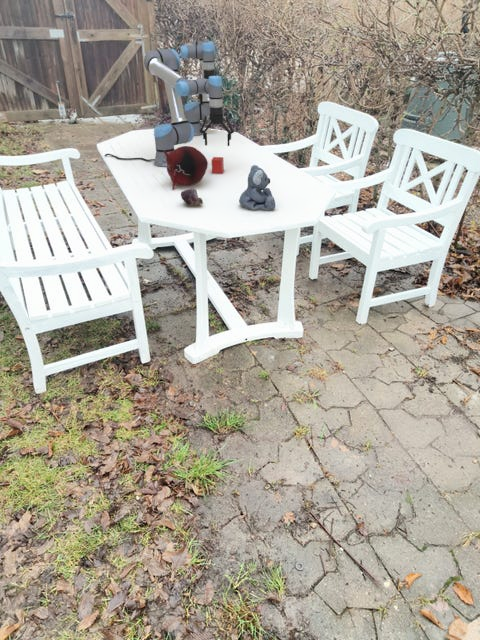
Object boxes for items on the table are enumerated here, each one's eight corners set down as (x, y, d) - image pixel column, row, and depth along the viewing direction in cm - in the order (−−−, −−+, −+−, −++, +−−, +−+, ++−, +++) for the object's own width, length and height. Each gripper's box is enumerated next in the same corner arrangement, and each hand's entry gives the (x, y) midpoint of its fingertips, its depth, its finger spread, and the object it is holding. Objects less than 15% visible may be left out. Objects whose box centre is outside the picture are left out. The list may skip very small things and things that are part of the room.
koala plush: (276, 211, 223) (277, 171, 212) (240, 212, 222) (240, 172, 211) (271, 199, 237) (272, 161, 226) (237, 200, 236) (237, 162, 225)
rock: (196, 202, 238) (178, 205, 233) (194, 185, 234) (176, 188, 230) (205, 205, 228) (187, 208, 224) (203, 188, 224) (185, 191, 220)
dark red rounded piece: (165, 151, 264) (159, 150, 240) (204, 143, 263) (202, 140, 240) (174, 188, 271) (169, 190, 247) (212, 180, 270) (211, 181, 247)
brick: (222, 173, 275) (221, 160, 271) (212, 173, 276) (211, 160, 272) (223, 170, 281) (223, 157, 276) (213, 170, 282) (213, 157, 277)
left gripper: (238, 105, 259) (238, 144, 271) (196, 105, 262) (198, 143, 274) (236, 108, 253) (237, 147, 265) (193, 107, 256) (195, 146, 268)
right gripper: (194, 71, 297) (196, 106, 309) (227, 68, 306) (228, 102, 319) (189, 70, 302) (191, 104, 315) (222, 67, 312) (223, 101, 324)
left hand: (217, 145), depth 270 cm, fingers open, 13 cm apart
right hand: (210, 103), depth 317 cm, fingers open, 13 cm apart
